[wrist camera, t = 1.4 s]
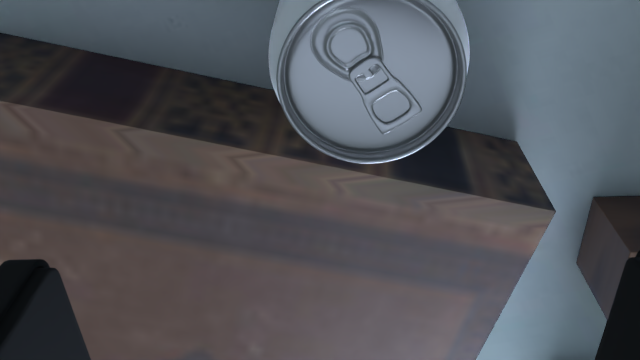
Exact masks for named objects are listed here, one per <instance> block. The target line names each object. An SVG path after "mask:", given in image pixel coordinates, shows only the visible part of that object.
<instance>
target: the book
mask: <svg viewBox="0 0 640 360" xmlns="http://www.w3.org/2000/svg"><path fill="white" fill-rule="evenodd" d="M555 212H556V211H555V209H554V207H553V205H552V204H551V202H550V200H549V198H548V197H547V195H546V193H545V191H544V189H543V188H542V186H541V184H540V182H539V180H538V179H537V177H536V175H535V173H534V171H533V170H532V168H531V166H530V164H529V162H528V161H527V159H526V157H525V155H524V153H523V152H522V150H521V148H520V146H519V144H518V143H517V142H516V141H511V140H506V139H502V138H497V137H492V136H487V135H483V134H478V133H473V132H468V131H464V130H459V129H454V128H449V127H446V128H445V129H444V130H443V131H442V132H441V133H440V134H439V135H438V136H437V137H436V138H435V139H434V140H433V141H432V142H430V143H429V144H428V145H426V146H425V147H423V148H422V149H420V150H418V151H416V152H414V153H412V154H410V155H408V156H406V157H403V158H400V159H397V160H393V161H389V162H383V163H374V164H362V163H353V162H347V161H343V160H339V159H336V158H334V157H331V156H329V155H326V154H324V153H322V152H321V151H319V150H317V149H316V148H314V147H313V146H311V145H310V144H309V143H307V142H306V141H305V140H304V139H303V138H302V137H301V136H300V135H299V134H298V133H297V132H296V131H295V129H294V128H293V127H292V125H291V124H290V122H289V121H288V119H287V117H286V115H285V113H284V111H283V109H282V106H281V104H280V102H279V100H278V98H277V96H276V93H275V91H274V90H269V89H264V88H260V87H255V86H250V85H245V84H241V83H236V82H231V81H226V80H222V79H217V78H212V77H207V76H203V75H198V74H193V73H188V72H184V71H179V70H174V69H169V68H165V67H160V66H155V65H150V64H146V63H141V62H136V61H131V60H127V59H122V58H117V57H113V56H108V55H103V54H98V53H94V52H89V51H84V50H79V49H75V48H70V47H65V46H60V45H56V44H51V43H46V42H41V41H37V40H32V39H27V38H22V37H18V36H13V35H8V34H3V33H0V265H1V264H2V263H3V262H4V261H7V260H20V259H42V260H45V261H46V262H47V263H48V264H49V266H50V268H56V269H57V270H58V271H59V273H60V276H61V278H62V281H63V284H64V287H65V289H66V292H67V295H68V298H69V300H70V303H71V306H72V309H73V311H74V314H75V317H76V320H77V322H78V325H79V328H80V331H81V333H82V336H83V339H84V342H85V344H86V347H87V350H88V353H89V356H90V358H91V360H476V358H477V356H478V355H479V353H480V351H481V349H482V347H483V345H484V344H485V342H486V340H487V338H488V336H489V334H490V332H491V331H492V329H493V327H494V325H495V323H496V321H497V320H498V318H499V316H500V314H501V312H502V310H503V308H504V307H505V305H506V303H507V301H508V299H509V297H510V295H511V294H512V292H513V290H514V288H515V286H516V284H517V283H518V281H519V279H520V277H521V275H522V273H523V271H524V270H525V268H526V266H527V264H528V262H529V260H530V258H531V257H532V255H533V253H534V251H535V249H536V247H537V246H538V244H539V242H540V240H541V238H542V236H543V234H544V233H545V231H546V229H547V227H548V225H549V223H550V222H551V220H552V218H553V216H554V214H555Z"/></svg>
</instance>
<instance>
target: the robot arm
mask: <svg viewBox="0 0 640 360" xmlns="http://www.w3.org/2000/svg"><path fill="white" fill-rule="evenodd" d="M0 360H91V358H90V356H89V353H88V350H87V347H86V344H85V342H84V339H83V336H82V333H81V331H80V328H79V325H78V322H77V320H76V317H75V314H74V311H73V309H72V306H71V303H70V300H69V298H68V295H67V292H66V289H65V287H64V284H63V281H62V278H61V276H60V273H59V271H58V270H57V269H56V268H50V266H49V264H48V263H47V262H46V261H45V260H42V259H20V260H7V261H4V262H3V263H2V264H1V265H0ZM595 360H640V250H639V251H638V252H637V255H636V257H631V258H629V259H628V260H627V261H626V263H625V266H624V269H623V272H622V276H621V279H620V282H619V285H618V288H617V291H616V295H615V298H614V301H613V304H612V307H611V310H610V314H609V317H608V320H607V323H606V326H605V329H604V333H603V336H602V339H601V342H600V345H599V348H598V352H597V355H596V358H595Z"/></svg>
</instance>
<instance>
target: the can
mask: <svg viewBox="0 0 640 360" xmlns="http://www.w3.org/2000/svg"><path fill="white" fill-rule="evenodd" d="M469 59H470V44H469V36H468V31H467V27H466V23H465V20H464V17H463V15H462V12H461V10H460V8H459V6H458V4H457V2H456V0H280V1H279V4H278V8H277V11H276V15H275V19H274V23H273V27H272V31H271V36H270V41H269V52H268V60H269V72H270V77H271V82H272V85H273V88H274V91H275V93H276V96H277V98H278V100H279V102H280V104H281V106H282V109H283V111H284V113H285V115H286V117H287V119H288V121H289V122H290V124H291V125H292V127H293V128H294V129H295V131H296V132H297V133H298V134H299V135H300V136H301V137H302V138H303V139H304V140H305V141H306V142H307V143H309V144H310V145H311V146H313V147H314V148H316V149H317V150H319V151H321V152H322V153H324V154H326V155H329V156H331V157H334V158H336V159H339V160H343V161H347V162H353V163H362V164H374V163H383V162H389V161H393V160H397V159H400V158H403V157H406V156H408V155H410V154H412V153H414V152H416V151H418V150H420V149H422V148H423V147H425V146H426V145H428V144H429V143H430V142H432V141H433V140H434V139H435V138H436V137H437V136H438V135H439V134H440V133H441V132H442V131H443V130H444V129H445V128H446V127H447V125H448V124H449V123H450V121H451V120H452V118H453V117H454V115H455V114H456V112H457V110H458V108H459V105H460V103H461V100H462V98H463V94H464V90H465V85H466V77H467V72H468V67H469Z"/></svg>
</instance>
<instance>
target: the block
mask: <svg viewBox="0 0 640 360" xmlns="http://www.w3.org/2000/svg"><path fill="white" fill-rule="evenodd" d="M639 250H640V196H623V197H593V200H592V204H591V208H590V212H589V216H588V220H587V224H586V228H585V232H584V235H583V239H582V243H581V247H580V251H579V255H578V259H577V265H578V267H579V269H580V271H581V273H582V275H583V276H584V278H585V280H586V282H587V284H588V286H589V288H590V289H591V291H592V293H593V295H594V297H595V299H596V301H597V302H598V304H599V306H600V308H601V310H602V312H603V313H604V315H605V317H606V319H607V320H608V317H609V314H610V310H611V307H612V304H613V301H614V298H615V295H616V291H617V288H618V285H619V282H620V279H621V276H622V272H623V269H624V266H625V263H626V261H627V260H628V259H629V258H631V257H636V255H637V252H638V251H639Z"/></svg>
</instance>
